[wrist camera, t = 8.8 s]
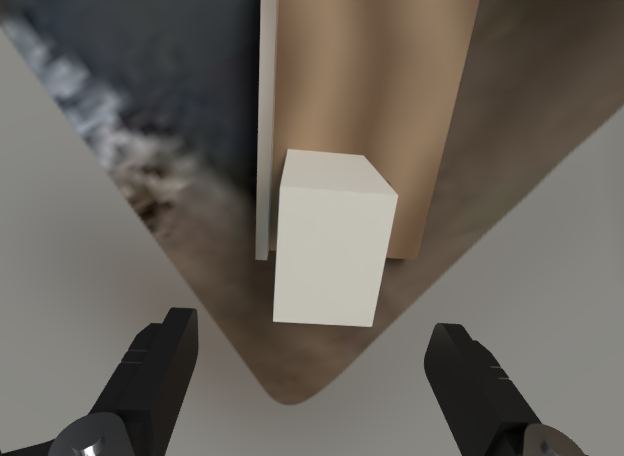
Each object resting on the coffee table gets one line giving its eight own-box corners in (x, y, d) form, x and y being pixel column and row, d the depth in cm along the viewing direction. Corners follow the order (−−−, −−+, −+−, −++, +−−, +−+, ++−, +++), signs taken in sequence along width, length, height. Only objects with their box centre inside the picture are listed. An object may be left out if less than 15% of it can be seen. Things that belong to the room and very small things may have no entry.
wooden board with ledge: (260, 240, 26) (255, 259, 23) (268, -47, 19) (262, -70, 16) (411, 250, 26) (423, 269, 24) (474, -23, 19) (502, -41, 17)
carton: (281, 245, 24) (272, 321, 16) (287, 148, 21) (278, 185, 14) (349, 249, 25) (371, 326, 17) (363, 155, 22) (398, 195, 14)
